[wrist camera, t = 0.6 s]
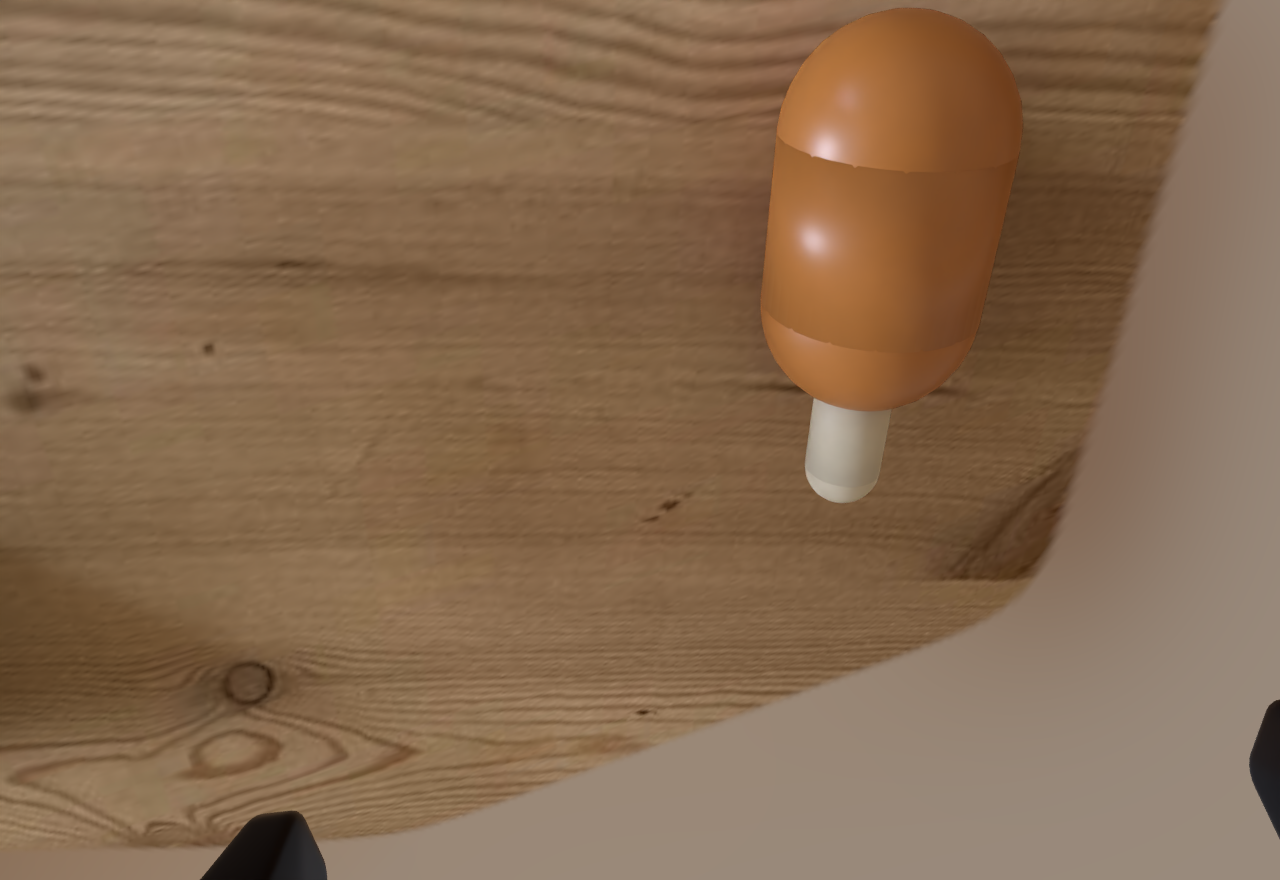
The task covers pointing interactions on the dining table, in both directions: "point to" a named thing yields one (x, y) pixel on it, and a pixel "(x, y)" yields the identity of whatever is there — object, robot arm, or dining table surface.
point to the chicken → (884, 225)
